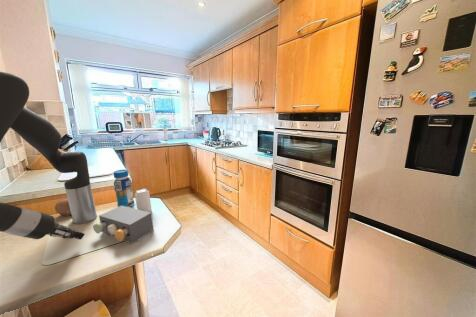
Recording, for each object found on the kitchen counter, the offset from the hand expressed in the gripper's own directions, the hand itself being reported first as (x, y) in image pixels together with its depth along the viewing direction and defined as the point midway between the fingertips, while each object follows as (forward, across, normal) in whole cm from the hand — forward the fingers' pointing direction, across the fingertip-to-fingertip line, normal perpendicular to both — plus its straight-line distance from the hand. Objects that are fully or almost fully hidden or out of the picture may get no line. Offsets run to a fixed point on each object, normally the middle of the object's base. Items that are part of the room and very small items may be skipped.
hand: (81, 236), depth 73 cm
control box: (+13, -7, -6) cm, 16 cm away
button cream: (+8, -7, -5) cm, 11 cm away
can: (+24, +1, -17) cm, 29 cm away
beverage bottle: (+25, +18, -18) cm, 36 cm away
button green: (+7, 0, -4) cm, 8 cm away
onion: (+12, +37, -5) cm, 39 cm away
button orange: (+7, -13, -4) cm, 15 cm away
